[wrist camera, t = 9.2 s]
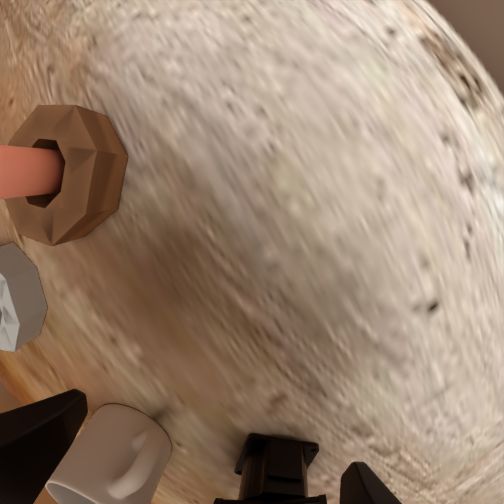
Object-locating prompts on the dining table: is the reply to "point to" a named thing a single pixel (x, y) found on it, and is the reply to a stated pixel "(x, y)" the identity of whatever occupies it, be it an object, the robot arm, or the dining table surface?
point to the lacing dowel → (30, 171)
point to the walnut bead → (70, 173)
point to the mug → (112, 460)
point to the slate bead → (19, 299)
